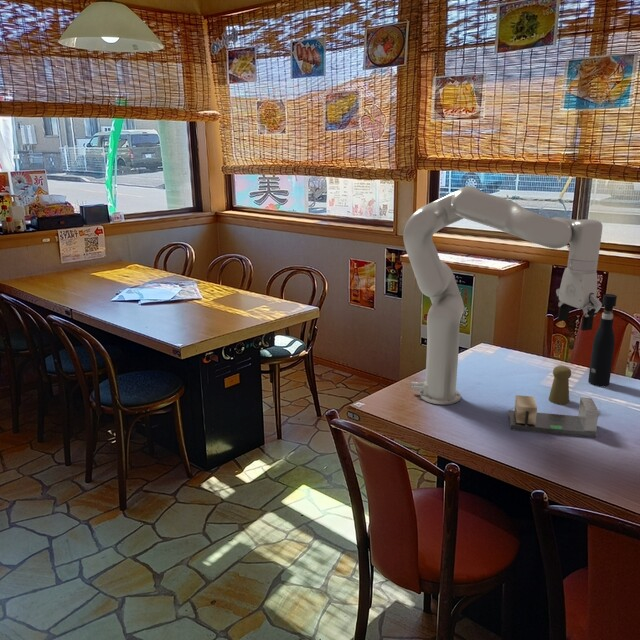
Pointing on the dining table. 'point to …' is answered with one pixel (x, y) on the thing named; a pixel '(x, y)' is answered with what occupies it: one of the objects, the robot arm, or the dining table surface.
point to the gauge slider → (525, 409)
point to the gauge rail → (563, 421)
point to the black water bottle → (603, 345)
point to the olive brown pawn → (560, 386)
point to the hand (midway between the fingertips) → (574, 324)
